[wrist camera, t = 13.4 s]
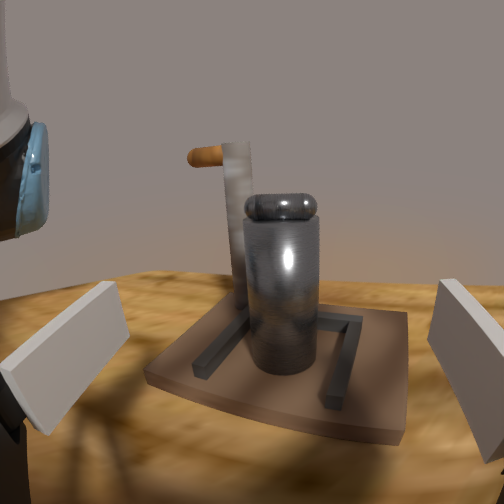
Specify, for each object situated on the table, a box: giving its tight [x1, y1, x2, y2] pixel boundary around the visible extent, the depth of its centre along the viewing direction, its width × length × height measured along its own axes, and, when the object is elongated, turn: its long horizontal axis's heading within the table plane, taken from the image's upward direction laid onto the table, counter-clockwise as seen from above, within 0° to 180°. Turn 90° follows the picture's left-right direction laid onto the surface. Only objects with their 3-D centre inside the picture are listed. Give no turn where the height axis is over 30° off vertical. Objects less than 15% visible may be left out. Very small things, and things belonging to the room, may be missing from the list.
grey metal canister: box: [243, 193, 319, 376], centre depth 20 cm, size 5×5×12 cm
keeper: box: [143, 142, 408, 446], centre depth 21 cm, size 20×14×16 cm
